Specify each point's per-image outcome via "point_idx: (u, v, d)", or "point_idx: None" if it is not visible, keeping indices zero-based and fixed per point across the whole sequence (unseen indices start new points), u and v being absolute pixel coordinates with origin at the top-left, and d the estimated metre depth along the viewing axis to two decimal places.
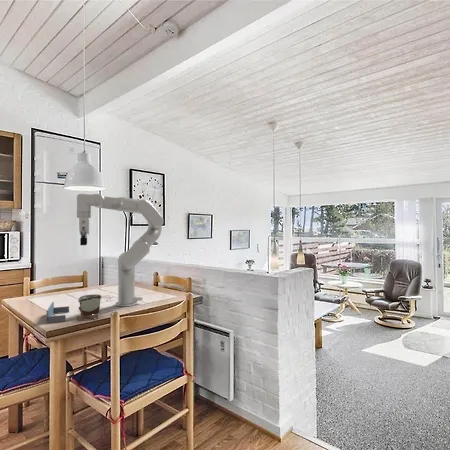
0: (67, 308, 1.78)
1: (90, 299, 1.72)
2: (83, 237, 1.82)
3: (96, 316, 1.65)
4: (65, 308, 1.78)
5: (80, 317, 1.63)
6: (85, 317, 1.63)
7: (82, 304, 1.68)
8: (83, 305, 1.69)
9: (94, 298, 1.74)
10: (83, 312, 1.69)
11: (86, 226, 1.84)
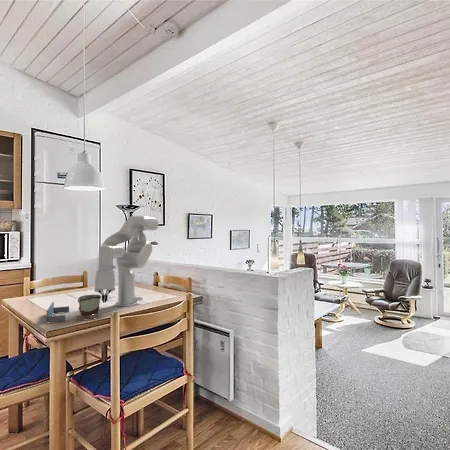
0: (67, 308, 1.78)
1: (89, 299, 1.72)
2: (107, 294, 1.77)
3: (96, 316, 1.65)
4: (65, 308, 1.78)
5: (80, 317, 1.63)
6: (85, 317, 1.63)
7: (81, 304, 1.68)
8: (82, 305, 1.68)
9: (93, 298, 1.73)
10: (82, 312, 1.69)
11: None
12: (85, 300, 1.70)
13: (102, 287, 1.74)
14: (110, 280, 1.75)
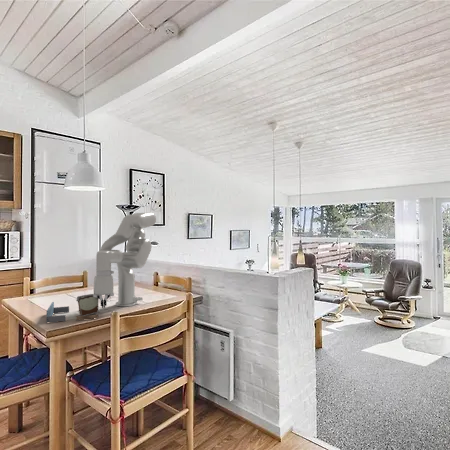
0: (67, 308, 1.78)
1: (88, 298, 1.72)
2: None
3: (96, 316, 1.65)
4: (65, 308, 1.78)
5: (80, 317, 1.63)
6: (85, 317, 1.63)
7: (80, 303, 1.69)
8: (81, 303, 1.69)
9: (92, 297, 1.74)
10: (82, 311, 1.69)
11: None
12: (84, 299, 1.70)
13: (101, 292, 1.74)
14: (109, 285, 1.75)
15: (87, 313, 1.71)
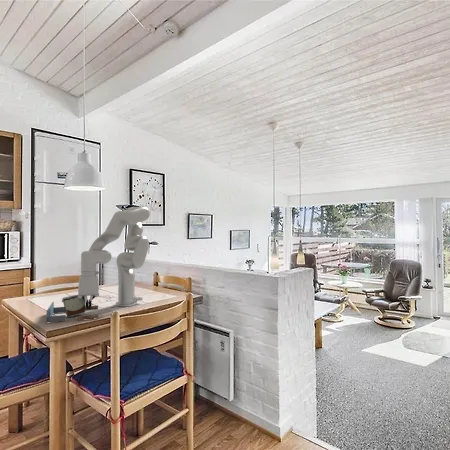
0: None
1: (74, 298, 1.70)
2: None
3: (96, 316, 1.65)
4: None
5: (80, 317, 1.63)
6: (85, 317, 1.63)
7: (66, 304, 1.67)
8: (66, 304, 1.67)
9: None
10: (68, 312, 1.67)
11: None
12: (69, 299, 1.68)
13: (85, 293, 1.71)
14: (94, 286, 1.73)
15: (73, 314, 1.69)
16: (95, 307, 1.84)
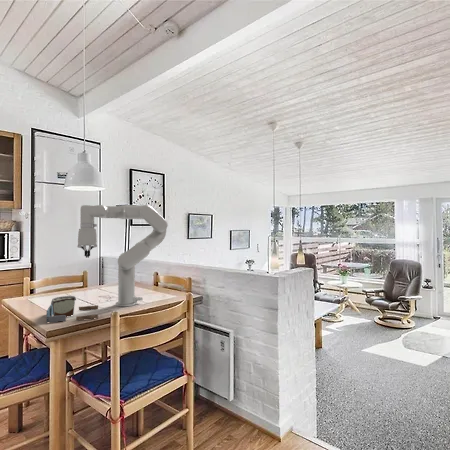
0: None
1: (63, 301, 1.68)
2: None
3: (96, 316, 1.65)
4: None
5: (80, 317, 1.63)
6: (85, 317, 1.63)
7: (55, 306, 1.64)
8: (55, 307, 1.65)
9: (68, 300, 1.69)
10: (56, 314, 1.65)
11: None
12: (59, 302, 1.66)
13: (84, 243, 1.88)
14: (92, 237, 1.89)
15: None
16: (95, 307, 1.84)
